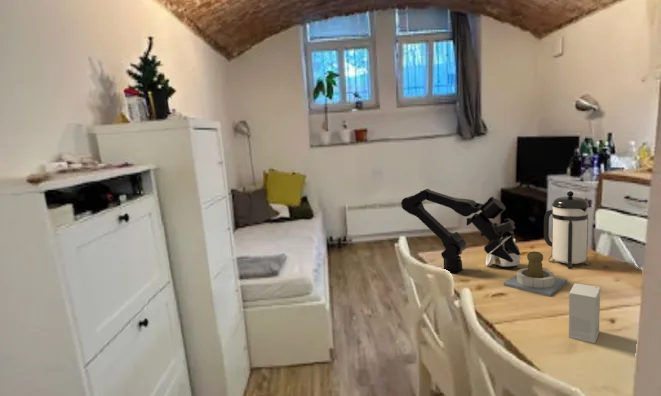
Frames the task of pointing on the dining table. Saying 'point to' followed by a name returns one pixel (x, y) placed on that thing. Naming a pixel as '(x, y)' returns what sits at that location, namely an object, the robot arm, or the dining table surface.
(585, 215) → the coffee press
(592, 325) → the small box
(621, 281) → the dining table surface
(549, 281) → the mount
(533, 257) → the cork
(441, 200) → the robot arm
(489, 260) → the spread jar
